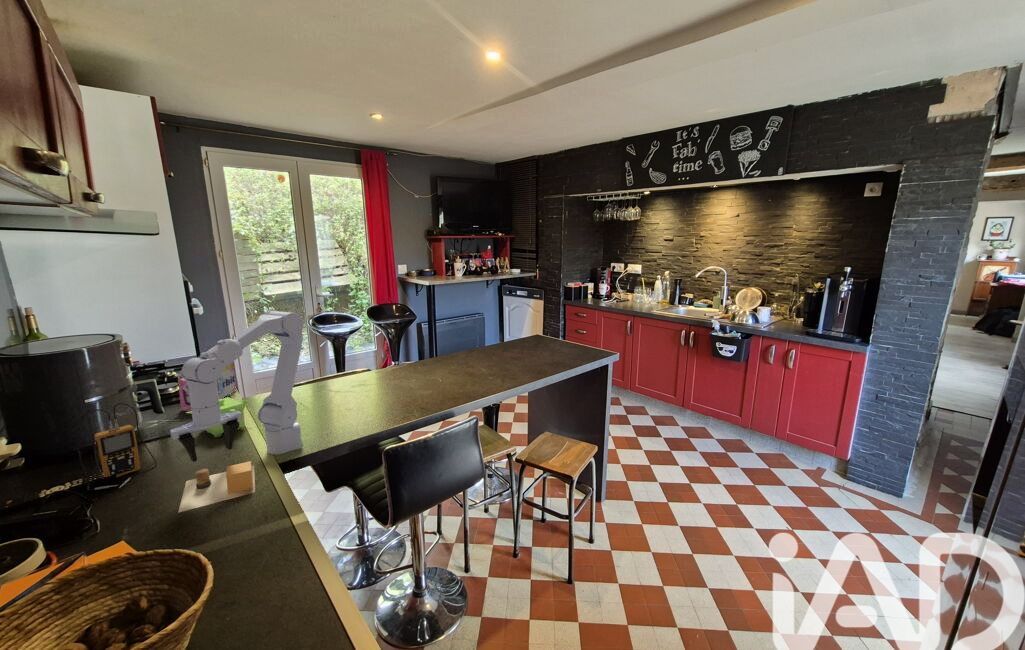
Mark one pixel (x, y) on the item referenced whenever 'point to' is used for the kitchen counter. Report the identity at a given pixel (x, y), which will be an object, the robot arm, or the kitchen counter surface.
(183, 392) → the gum box
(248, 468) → the tilted amber cube
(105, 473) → the multimeter
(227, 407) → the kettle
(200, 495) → the board
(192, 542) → the kitchen counter surface
